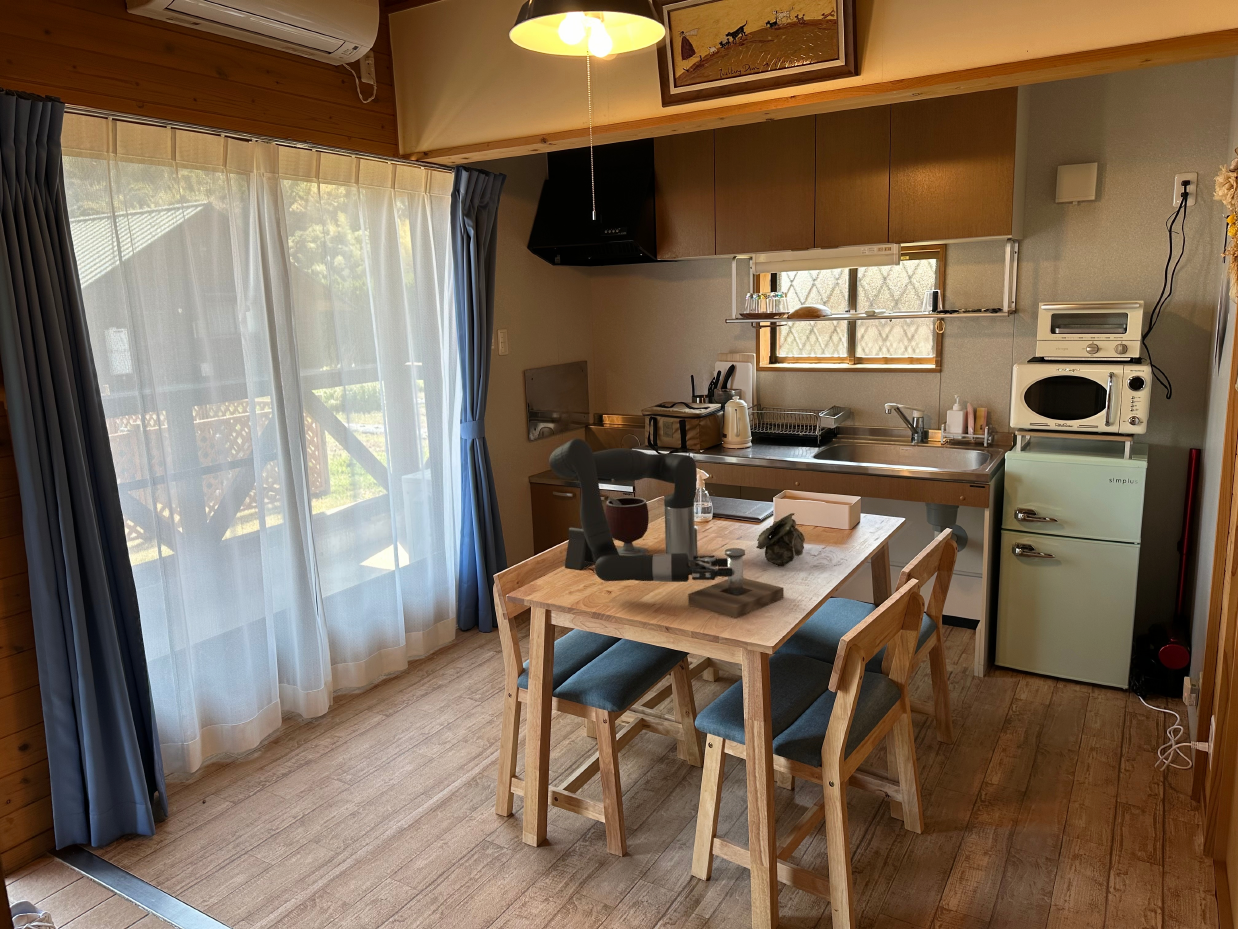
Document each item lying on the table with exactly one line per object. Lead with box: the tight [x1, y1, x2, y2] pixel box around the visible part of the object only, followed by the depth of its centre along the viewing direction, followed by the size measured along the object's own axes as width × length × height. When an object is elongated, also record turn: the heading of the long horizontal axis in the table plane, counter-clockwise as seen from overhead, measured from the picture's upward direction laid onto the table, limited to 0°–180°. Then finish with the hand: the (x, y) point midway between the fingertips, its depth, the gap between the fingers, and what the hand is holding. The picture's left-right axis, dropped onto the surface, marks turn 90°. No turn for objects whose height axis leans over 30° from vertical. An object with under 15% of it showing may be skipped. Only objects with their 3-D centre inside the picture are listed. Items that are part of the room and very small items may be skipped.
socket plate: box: [687, 577, 785, 620], centre depth 227 cm, size 20×16×3 cm
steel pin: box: [724, 547, 746, 596], centre depth 226 cm, size 5×5×14 cm
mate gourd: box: [604, 496, 650, 556], centre depth 275 cm, size 16×14×20 cm
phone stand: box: [564, 526, 596, 571], centre depth 265 cm, size 9×6×12 cm, turn 147°
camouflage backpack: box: [755, 512, 806, 568], centre depth 263 cm, size 28×13×15 cm
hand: (732, 567), depth 226 cm, fingers open, 8 cm apart
